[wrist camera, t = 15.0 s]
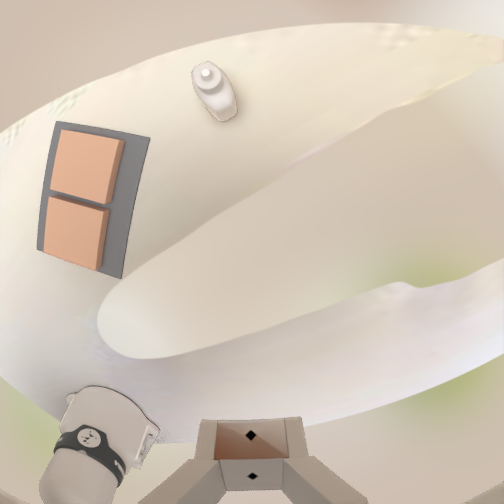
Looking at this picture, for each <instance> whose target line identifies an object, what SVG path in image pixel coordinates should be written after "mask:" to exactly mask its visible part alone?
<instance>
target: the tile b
mask: <svg viewBox="0 0 504 504" xmlns="http://www.w3.org/2000/svg"><path fill="white" fill-rule="evenodd" d="M124 143H125V141H124V140H119V139H114V138H109V137H103V136H98V135H93V134H87V133H82V132H76V131H70V130H61V134H60V138H59V143H58V147H57V152H56V157H55V162H54V168H53V173H52V179H51V186H50V189H51V190H55V191H58V192H62V193H66V194H69V195H73V196H77V197H80V198H84V199H88V200H91V201H95V202H99V203H102V204H107V203H110V202H111V201H112V196H113V191H114V186H115V182H116V177H117V172H118V168H119V164H120V159H121V155H122V151H123V147H124Z"/></svg>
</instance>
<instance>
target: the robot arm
mask: <svg viewBox="0 0 504 504" xmlns="http://www.w3.org/2000/svg"><path fill="white" fill-rule="evenodd" d="M66 402H67V405H68V409H67V410H66V412H65V414H64V416H63V418H62V420H61V422H60V425H59V428H60V431H61V433H62V435H61V437H60V439H59V440H58V441H57V443H56V445H55V448H54V456H53V457H52V459H51V461H50V463H49V464H48V466H47V468H46V471H45V472H44V474H43V476H42V478H41V480H40V483H39V492H40V496H41V498H42V500H43V502H44V504H112V501H113V498H114V494H115V491H116V488H118V487H119V486H120V484H121V483H122V481H123V479H124V475H127V474H128V473H129V471H130V469H131V467H135V468H137V469H141V466H142V463H143V460H144V459H145V457H146V455H147V453H148V452H149V450H150V448H151V446H152V445H153V443H154V441H155V439H156V437H157V436H158V434H159V431H160V430H159V428H158V427H157V426H155V425H154V424H153V423H152V422H150V421H149V420H148V419H147V418H146V417H145V415H144V414H143V412H142V411H141V410H140V409H139V408H138V407H137V406H136V405H135V404H134V403H133V402H132V401H130V400H129V399H128V398H126V397H125V396H123V395H121V394H119V393H117V392H115V391H113V390H110V389H107V388H103V387H87V388H84V389H82V390H81V391H80V392H79V393H76V394H69V395H67V397H66ZM248 490H282V491H283V492H284V494H285V495H286V496H287V497H288V498H289V499H290V500H291V502H292V503H293V504H368V500H367V498H366V497H365V496H363V495H362V494H361V493H359V492H358V491H357V490H355V489H354V488H353V487H351V486H350V485H349V484H348V483H346V482H345V481H344V480H343V479H341V478H340V477H339V476H337V475H336V474H335V473H334V472H333V471H331V470H330V469H329V468H328V467H326V466H325V465H324V464H323V463H322V462H320V461H319V460H318V459H317V458H316V457H315V456H309V455H308V449H307V444H306V439H305V433H304V428H303V422H302V418H301V417H290V418H276V419H259V420H204V419H202V421H201V423H200V428H199V433H198V439H197V445H196V451H195V457H194V459H189V460H188V461H187V462H186V463H184V464H183V465H182V466H181V467H180V468H179V469H178V470H176V471H175V472H174V473H173V474H172V475H171V476H170V477H168V478H167V479H166V480H165V481H164V482H163V483H161V484H160V485H159V486H158V487H156V488H155V489H154V490H153V491H152V492H150V493H149V494H148V495H147V496H145V497H144V498H143V499H142V500H140V501H139V502H138V504H217V503H218V502H219V501H220V499H221V498H222V497H223V496H224V494H225V493H226V491H248ZM0 504H28V503H26V502H24V501H22V500H20V499H18V498H16V497H14V496H12V495H10V494H8V493H7V492H5V491H3V490H1V489H0ZM462 504H504V481H503V482H502V483H500V484H498V485H497V486H495V487H493V488H491V489H489V490H487V491H486V492H484V493H482V494H480V495H478V496H476V497H474V498H472V499H470V500H468V501H466V502H464V503H462Z"/></svg>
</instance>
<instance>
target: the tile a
mask: <svg viewBox="0 0 504 504" xmlns="http://www.w3.org/2000/svg"><path fill="white" fill-rule="evenodd" d="M109 212H110V209H106V208H103V207H99V206H96V205H92V204H88V203H85V202H81V201H78V200H74V199H70V198H67V197H63V196H60V195H53V196H49V199H48V207H47V216H46V226H45V237H44V253H47V254H49V255H52V256H55V257H57V258H60V259H63V260H66V261H68V262H71V263H74V264H77V265H80V266H82V267H85V268H88V269H91V270H94V271H96V270H97V269H98V268H100V267H101V266H102V258H103V250H104V243H105V236H106V230H107V224H108V218H109Z"/></svg>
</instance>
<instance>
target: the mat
mask: <svg viewBox="0 0 504 504" xmlns="http://www.w3.org/2000/svg"><path fill="white" fill-rule="evenodd" d="M61 130H70V131H76V132H82V133H87V134H93V135H98V136H103V137H109V138H114V139H119V140H124V141H125V143H124V147H123V151H122V155H121V159H120V164H119V168H118V172H117V177H116V182H115V186H114V191H113V196H112V201H111V202H110V203H107V204H102V203H99V202H95V201H91V200H88V199H84V198H80V197H77V196H73V195H69V194H66V193H62V192H58V191H55V190H51V189H50V186H51V179H52V173H53V168H54V162H55V157H56V152H57V147H58V143H59V138H60V134H61ZM149 141H150V138H148V137H144V136H139V135H134V134H129V133H124V132H119V131H114V130H108V129H103V128H97V127H91V126H85V125H79V124H73V123H66V122H59V121H56V123H55V127H54V131H53V136H52V140H51V145H50V149H49V154H48V160H47V165H46V171H45V177H44V183H43V190H42V197H41V205H40V214H39V225H38V237H37V250H40V251H42V252H44V237H45V226H46V216H47V207H48V199H49V196H53V195H60V196H63V197H67V198H70V199H74V200H78V201H81V202H85V203H88V204H92V205H96V206H99V207H103V208H106V209H110V212H109V218H108V224H107V230H106V236H105V243H104V250H103V258H102V266H101V267H100V268H98V269H97V270H96V271H98V272H101V273H104V274H107V275H110V276H113V277H116V278H119V279H121V277H122V270H123V264H124V257H125V251H126V245H127V239H128V234H129V228H130V223H131V218H132V213H133V208H134V203H135V198H136V194H137V189H138V185H139V181H140V176H141V172H142V168H143V164H144V160H145V156H146V152H147V148H148V145H149Z"/></svg>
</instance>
